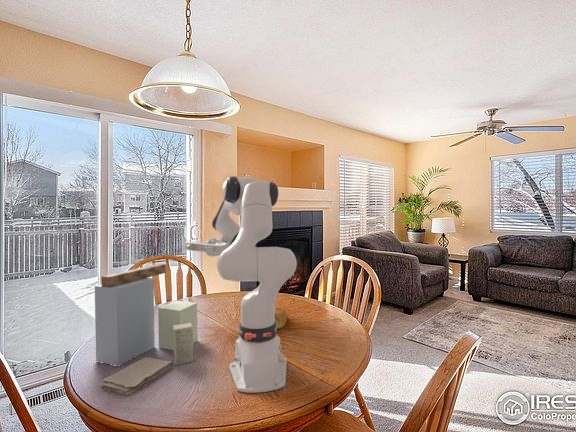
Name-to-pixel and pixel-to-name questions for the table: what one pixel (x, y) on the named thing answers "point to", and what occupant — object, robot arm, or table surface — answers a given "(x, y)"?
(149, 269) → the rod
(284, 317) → the croissant
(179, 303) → the step block
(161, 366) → the washcloth
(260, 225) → the robot arm
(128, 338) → the shelf stand
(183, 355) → the skincare box
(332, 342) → the table surface
